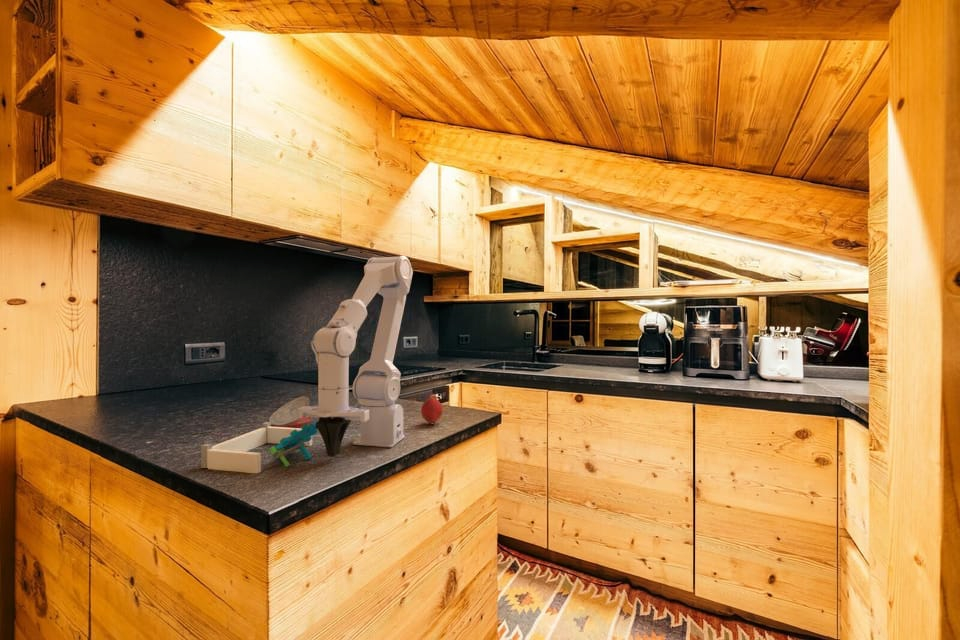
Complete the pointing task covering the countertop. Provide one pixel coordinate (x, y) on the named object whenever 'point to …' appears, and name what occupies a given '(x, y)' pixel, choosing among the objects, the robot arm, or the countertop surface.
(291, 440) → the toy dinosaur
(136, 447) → the countertop surface
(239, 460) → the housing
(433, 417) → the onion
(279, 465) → the countertop surface
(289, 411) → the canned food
